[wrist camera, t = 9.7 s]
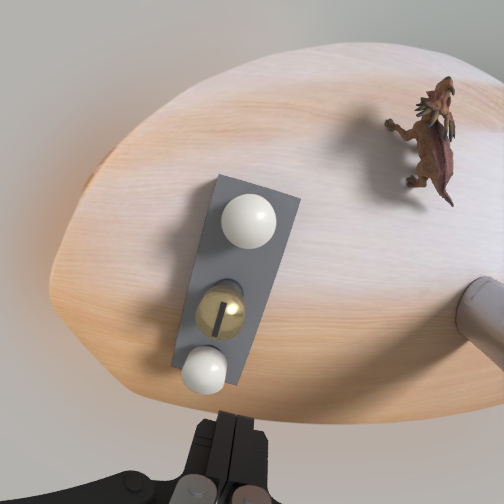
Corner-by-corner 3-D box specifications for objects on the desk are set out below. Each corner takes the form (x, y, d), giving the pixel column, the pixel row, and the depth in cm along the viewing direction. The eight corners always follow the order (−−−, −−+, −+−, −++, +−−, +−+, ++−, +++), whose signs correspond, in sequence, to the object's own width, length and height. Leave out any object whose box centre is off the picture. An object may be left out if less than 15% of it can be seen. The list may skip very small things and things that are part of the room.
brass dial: (239, 330, 27) (236, 347, 24) (197, 318, 26) (190, 333, 23) (251, 292, 26) (249, 306, 23) (207, 279, 26) (200, 291, 23)
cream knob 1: (222, 383, 30) (218, 399, 27) (184, 372, 30) (177, 386, 27) (232, 353, 29) (229, 368, 26) (191, 340, 29) (185, 354, 26)
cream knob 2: (266, 248, 27) (266, 255, 24) (219, 234, 27) (215, 240, 24) (281, 202, 26) (283, 203, 23) (233, 187, 26) (229, 187, 23)
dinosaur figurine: (375, 99, 27) (412, 73, 18) (416, 93, 26) (458, 71, 17) (409, 215, 30) (455, 226, 21) (446, 203, 29) (495, 211, 20)
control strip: (238, 371, 35) (235, 391, 30) (177, 352, 34) (168, 371, 30) (297, 197, 30) (302, 199, 26) (223, 175, 30) (216, 173, 25)
